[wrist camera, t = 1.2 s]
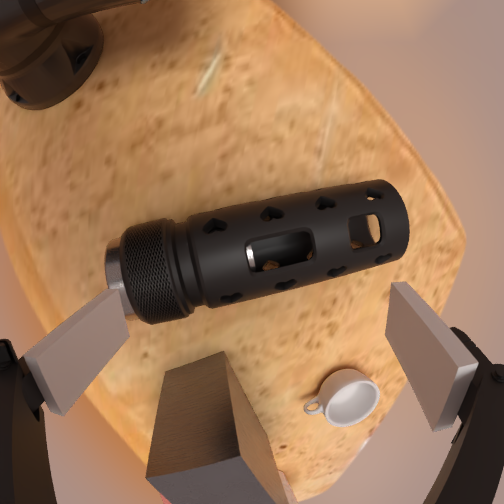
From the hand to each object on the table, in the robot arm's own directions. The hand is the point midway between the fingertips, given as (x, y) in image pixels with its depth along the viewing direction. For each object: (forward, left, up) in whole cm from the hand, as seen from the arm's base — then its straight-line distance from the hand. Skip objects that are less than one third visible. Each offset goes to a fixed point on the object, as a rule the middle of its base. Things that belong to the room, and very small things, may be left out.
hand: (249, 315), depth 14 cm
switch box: (+19, -9, -21) cm, 30 cm away
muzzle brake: (0, +3, -21) cm, 21 cm away
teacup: (+23, +7, -21) cm, 32 cm away
